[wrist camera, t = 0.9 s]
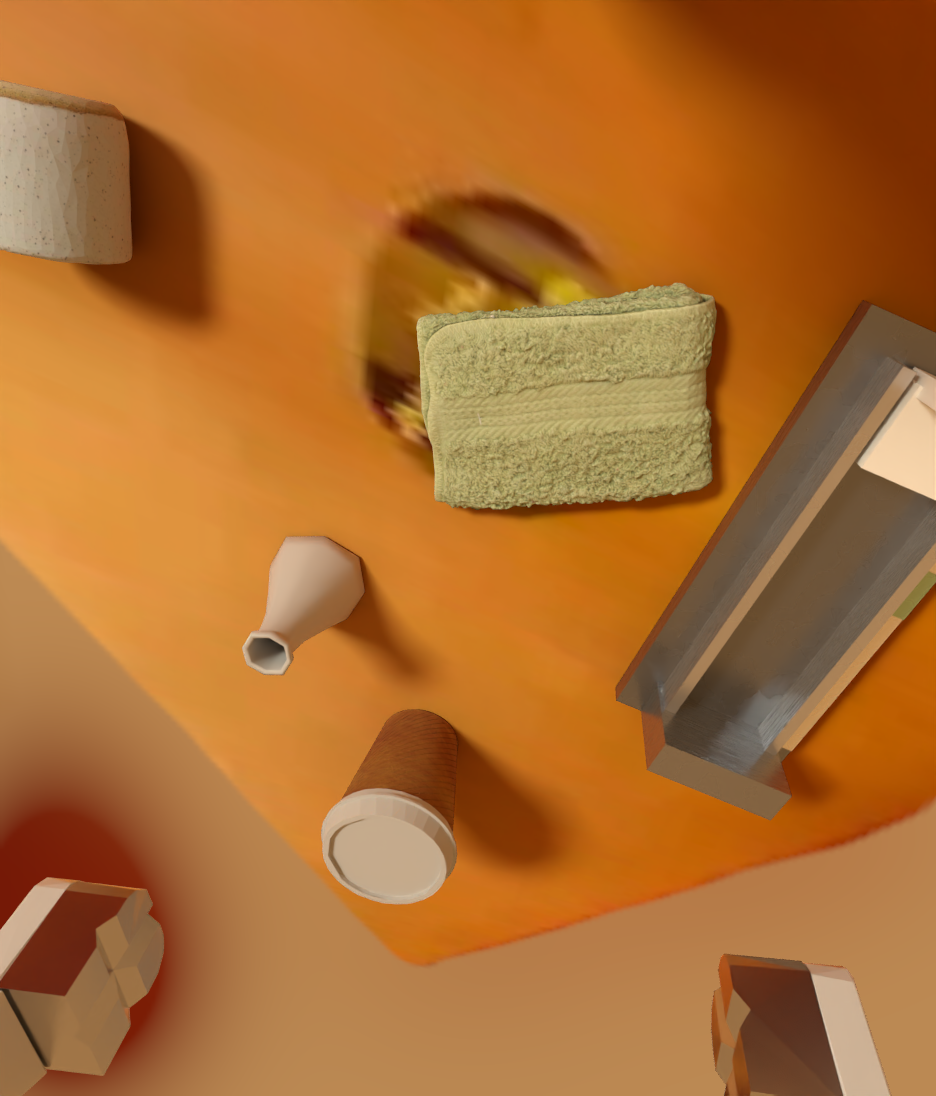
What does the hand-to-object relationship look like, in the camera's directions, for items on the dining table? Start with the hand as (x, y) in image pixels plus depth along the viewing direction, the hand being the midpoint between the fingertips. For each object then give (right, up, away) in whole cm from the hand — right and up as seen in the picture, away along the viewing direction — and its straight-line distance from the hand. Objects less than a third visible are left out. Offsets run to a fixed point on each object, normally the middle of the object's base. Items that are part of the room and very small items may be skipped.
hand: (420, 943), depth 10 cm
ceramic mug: (-23, +28, +34) cm, 49 cm away
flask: (-10, +4, +44) cm, 45 cm away
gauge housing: (+23, +5, +38) cm, 44 cm away
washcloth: (+7, +15, +36) cm, 39 cm away
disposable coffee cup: (-3, -10, +50) cm, 51 cm away
